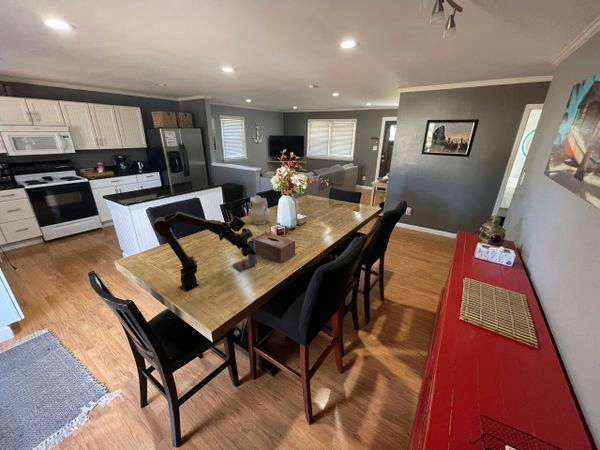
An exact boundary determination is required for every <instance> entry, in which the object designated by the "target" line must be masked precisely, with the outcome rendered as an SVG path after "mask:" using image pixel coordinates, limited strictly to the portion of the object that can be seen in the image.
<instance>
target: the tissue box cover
mask: <svg viewBox="0 0 600 450" xmlns="http://www.w3.org/2000/svg"><path fill="white" fill-rule="evenodd" d="M250 241H255V242H256V255H259V256H261V257H265V258H267V259H270V260H273V261H275V262H278V263H280V264H282V263H284V262H286V261H287V260H289V259H291V258H292V257H293V256H295V255H296V240H294V239H290V238H288V237H284V236H280V235H278V234H274V233H271V232H268V231H266V232H263V233H261V234H258V235H256V236H252V237H250Z"/></svg>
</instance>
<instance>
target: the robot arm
mask: <svg viewBox="0 0 600 450" xmlns="http://www.w3.org/2000/svg"><path fill="white" fill-rule="evenodd" d="M180 223H184V224H188V225H192V226H195V227H199V228H203V229H205V230H207V231H209V232H211V233H212V234H215V235H218V239H219V241H223V239H224V240H226V241H228V242H229V243H230V244H231V245H232V246H235V247H236V248H237V249H238V250H240V253H241V255H242V256H244V257H248V254H251V255H256V256H257V253H256V252H255V251H254V250H253V247H252V245H251V244H249V243H247V242H248V240H249V239H251V238H253V237H254V234H253V233H252V231H251V230H250V229H249V228H245V227H244V226H245V225H246V224H247V223H246V222H245V221H244V220H243V219H242V218H240V217H238V216H237V215H234V216H233V217H232V219H231V221H221V220H217V219H205V218H202V217H199V216H196V215H192V214H188V213H185V212H183V211H177V212H174V213H171V214H168V215H166V216H159V217H157V218H156V219H155V220H154V223H153V229H154V231H155V232H156V233H157V234H158V235H159V236H161V237H162V238H163V239H165V241H166V242H167V244H168V245H169V247H170V249H172V251H173V252H174V254H175V255H176V257H177V258H178V260H179V261H180V263H181V266H182V268H181V269H180V284H181V285H180V286H179V287H180V289H183V290H184V291H186V292H189V291H191V290H193V289H194V288H197V287H198V286H199V283H198V281H197V276H196V274H197V272H198V263H197V262H198V261H197V260H196V259H195V258H194V255H191V256H189V255H188V254H187V252H186V250H185V249H184V248H183V245H182V244H181V243H180V242H179V240H178V239H177V237H176V235H175V234H174V232H173V230H172V228H173V227H175V226H176V225H177V224H180ZM240 231H241V233H240Z"/></svg>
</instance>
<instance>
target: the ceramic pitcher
mask: <svg viewBox="0 0 600 450" xmlns="http://www.w3.org/2000/svg"><path fill="white" fill-rule="evenodd" d="M249 200H250V203H251V208H250V209H249V210H248V213H247V214H248V217H249V219H250V220H251V221H252V222H253V224H254V225H265V224H267V220H269V218H270V215H271V211H270V209H269V208H268V200H267V197H261V196H260V195H258V194H256V195H254V197H252V196H250V198H249Z"/></svg>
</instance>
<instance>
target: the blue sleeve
mask: <svg viewBox="0 0 600 450" xmlns="http://www.w3.org/2000/svg"><path fill="white" fill-rule="evenodd" d="M247 243H249V244H251V245H252V247H253V250H254V251H255V252H256V242H255V241H252V240H249V241H248V242H247ZM257 257H258V256H257V254H256V255H251V254H248V255H247V259H248V262H249V265H255V266H256V265H257V264H258V260H257Z"/></svg>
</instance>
